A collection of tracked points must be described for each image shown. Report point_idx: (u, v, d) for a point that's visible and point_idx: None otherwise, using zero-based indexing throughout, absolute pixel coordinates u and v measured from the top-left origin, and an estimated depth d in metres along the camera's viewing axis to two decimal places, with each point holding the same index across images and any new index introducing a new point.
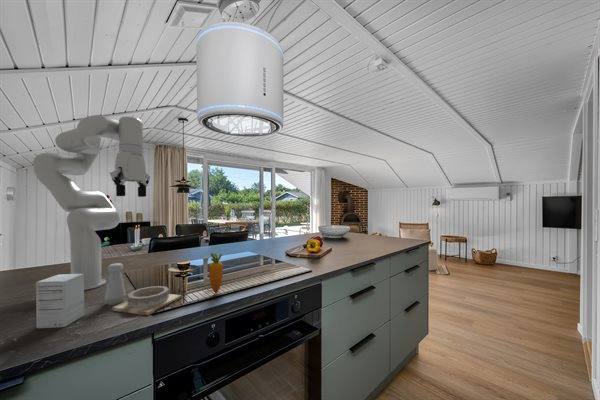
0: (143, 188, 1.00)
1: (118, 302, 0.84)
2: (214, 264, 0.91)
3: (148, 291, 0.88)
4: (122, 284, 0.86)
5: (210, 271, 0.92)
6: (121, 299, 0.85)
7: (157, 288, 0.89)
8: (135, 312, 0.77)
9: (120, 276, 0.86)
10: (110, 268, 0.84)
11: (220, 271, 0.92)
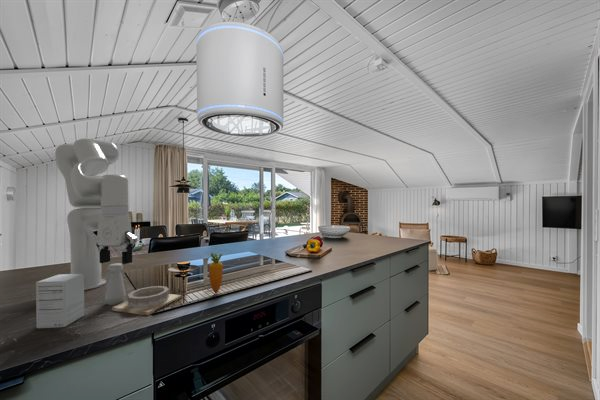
0: (108, 252, 0.88)
1: (118, 302, 0.84)
2: (214, 264, 0.91)
3: (148, 291, 0.88)
4: (122, 284, 0.86)
5: (210, 271, 0.92)
6: (121, 299, 0.85)
7: (157, 288, 0.89)
8: (135, 312, 0.77)
9: (120, 276, 0.86)
10: (110, 268, 0.84)
11: (220, 271, 0.92)
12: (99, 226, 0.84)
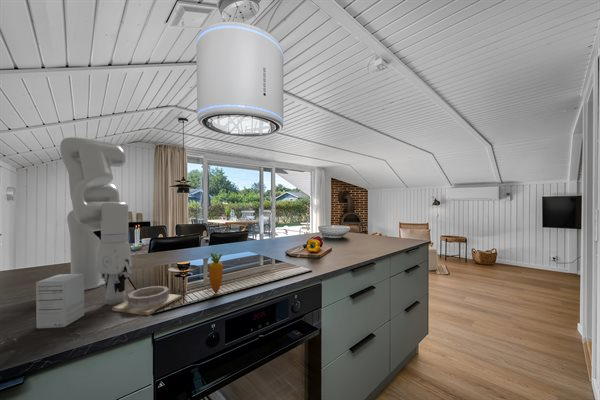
0: None
1: (118, 302, 0.84)
2: (214, 264, 0.91)
3: (148, 291, 0.88)
4: None
5: (210, 271, 0.92)
6: (121, 299, 0.85)
7: (157, 288, 0.89)
8: (135, 312, 0.77)
9: (120, 276, 0.86)
10: None
11: (220, 271, 0.92)
12: (99, 253, 0.84)
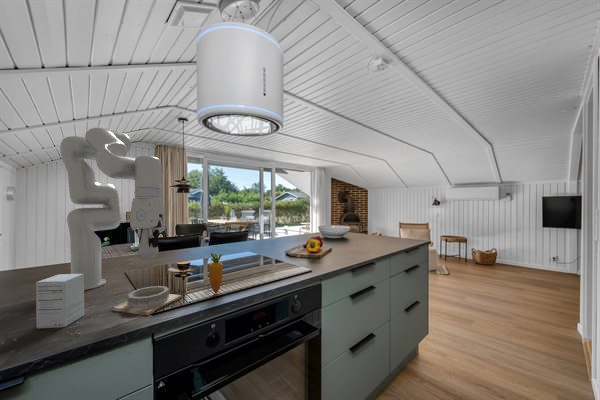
0: None
1: (152, 257, 0.83)
2: (214, 264, 0.91)
3: (148, 291, 0.88)
4: None
5: (210, 271, 0.92)
6: (154, 255, 0.84)
7: (157, 288, 0.89)
8: (135, 312, 0.77)
9: None
10: None
11: (220, 271, 0.92)
12: (132, 208, 0.83)
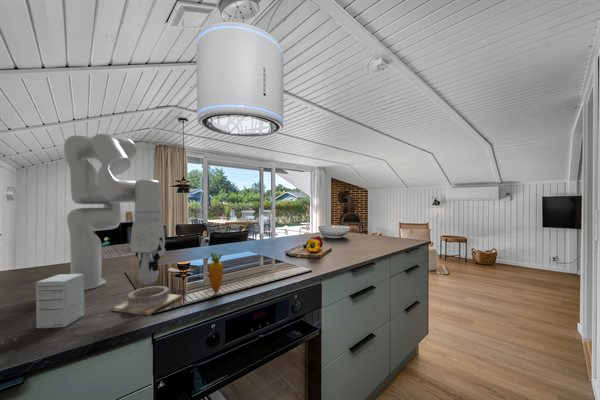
0: None
1: (152, 281, 0.83)
2: (214, 264, 0.91)
3: (148, 291, 0.88)
4: None
5: (210, 271, 0.92)
6: (155, 278, 0.84)
7: (157, 288, 0.89)
8: (135, 312, 0.77)
9: None
10: None
11: (220, 271, 0.92)
12: (133, 232, 0.83)
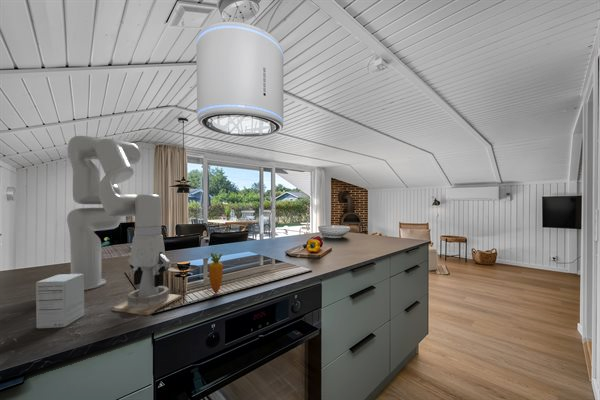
0: (142, 273, 0.86)
1: None
2: (214, 264, 0.91)
3: None
4: None
5: (210, 271, 0.92)
6: None
7: None
8: (135, 312, 0.77)
9: (153, 274, 0.84)
10: None
11: (220, 271, 0.92)
12: (133, 246, 0.83)
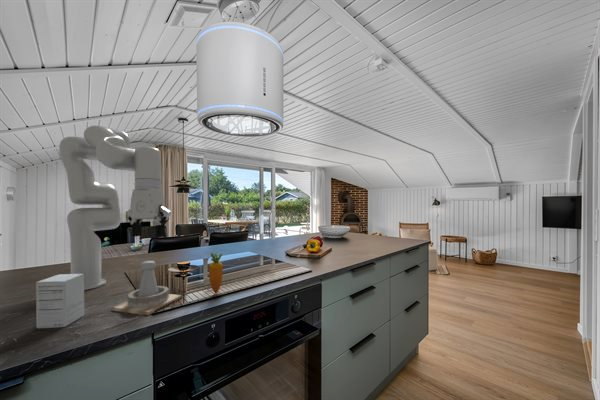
0: (140, 226, 0.87)
1: None
2: (214, 264, 0.91)
3: None
4: (155, 282, 0.85)
5: (210, 271, 0.92)
6: None
7: None
8: (135, 312, 0.77)
9: (153, 274, 0.84)
10: (144, 266, 0.82)
11: (220, 271, 0.92)
12: (132, 199, 0.83)
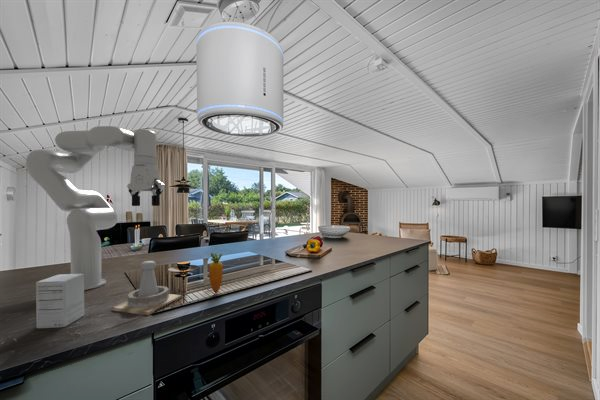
0: (139, 197, 1.02)
1: None
2: (214, 264, 0.91)
3: None
4: (155, 282, 0.85)
5: (210, 271, 0.92)
6: None
7: None
8: (135, 312, 0.77)
9: (153, 274, 0.84)
10: (144, 266, 0.82)
11: (220, 271, 0.92)
12: (132, 173, 0.98)
